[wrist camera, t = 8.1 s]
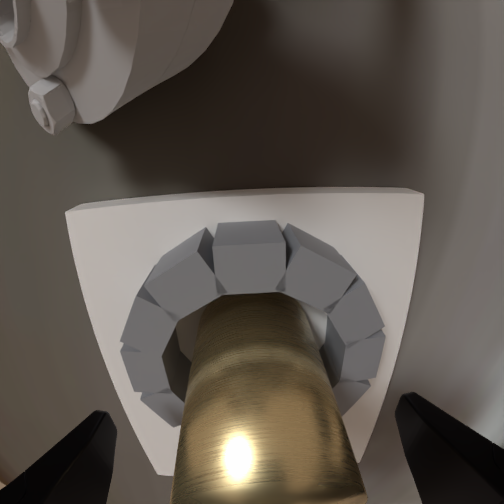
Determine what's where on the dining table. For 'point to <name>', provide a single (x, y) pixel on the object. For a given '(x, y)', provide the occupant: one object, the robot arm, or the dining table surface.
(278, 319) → the brass cylinder
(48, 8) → the mechanical valve
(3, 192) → the dining table surface
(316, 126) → the dining table surface
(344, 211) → the stone fire pit
